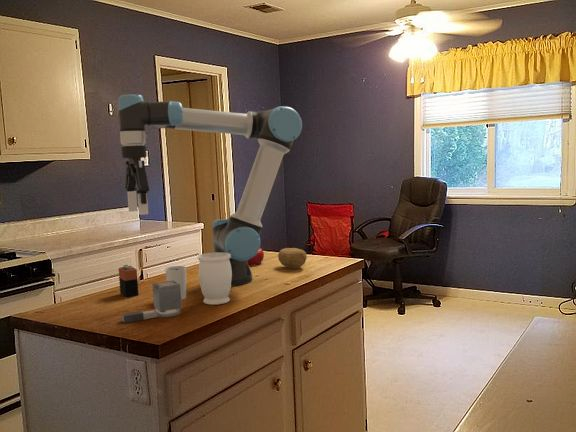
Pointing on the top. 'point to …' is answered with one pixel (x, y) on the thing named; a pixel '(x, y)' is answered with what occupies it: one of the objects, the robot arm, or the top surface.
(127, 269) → the battery
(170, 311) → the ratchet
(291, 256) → the potato
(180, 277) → the white pillar candle
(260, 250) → the pomegranate
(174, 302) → the grey rounded cube
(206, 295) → the jar
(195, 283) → the top surface
